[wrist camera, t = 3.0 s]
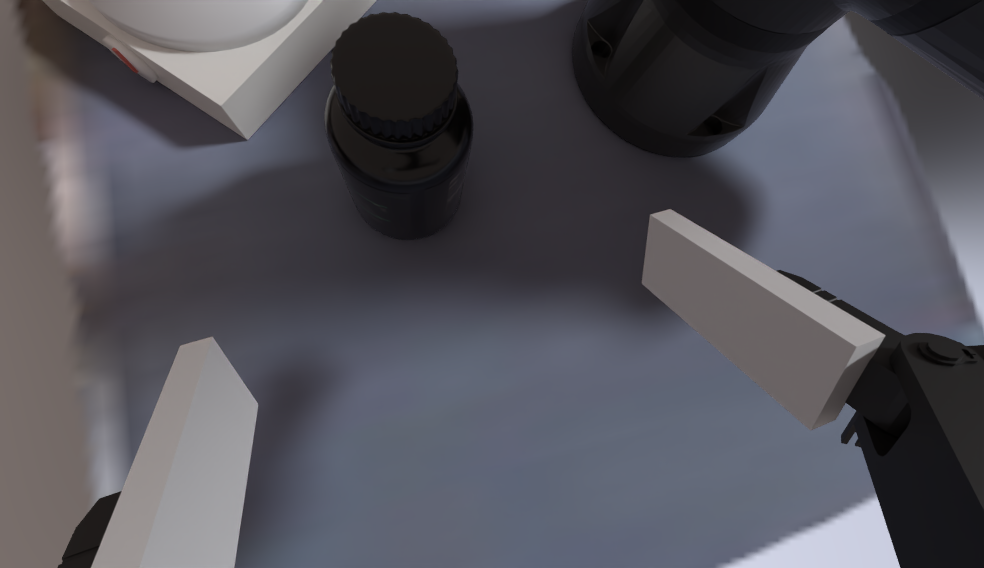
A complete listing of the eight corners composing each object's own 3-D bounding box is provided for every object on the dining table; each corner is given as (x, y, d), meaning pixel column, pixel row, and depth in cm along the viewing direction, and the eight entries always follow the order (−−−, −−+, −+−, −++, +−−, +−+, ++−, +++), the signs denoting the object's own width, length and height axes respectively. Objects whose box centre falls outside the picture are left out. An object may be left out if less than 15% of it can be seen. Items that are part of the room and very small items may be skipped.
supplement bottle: (428, 128, 29) (430, -35, 17) (478, 213, 28) (516, 103, 16) (334, 170, 27) (266, 23, 16) (386, 261, 27) (355, 177, 15)
